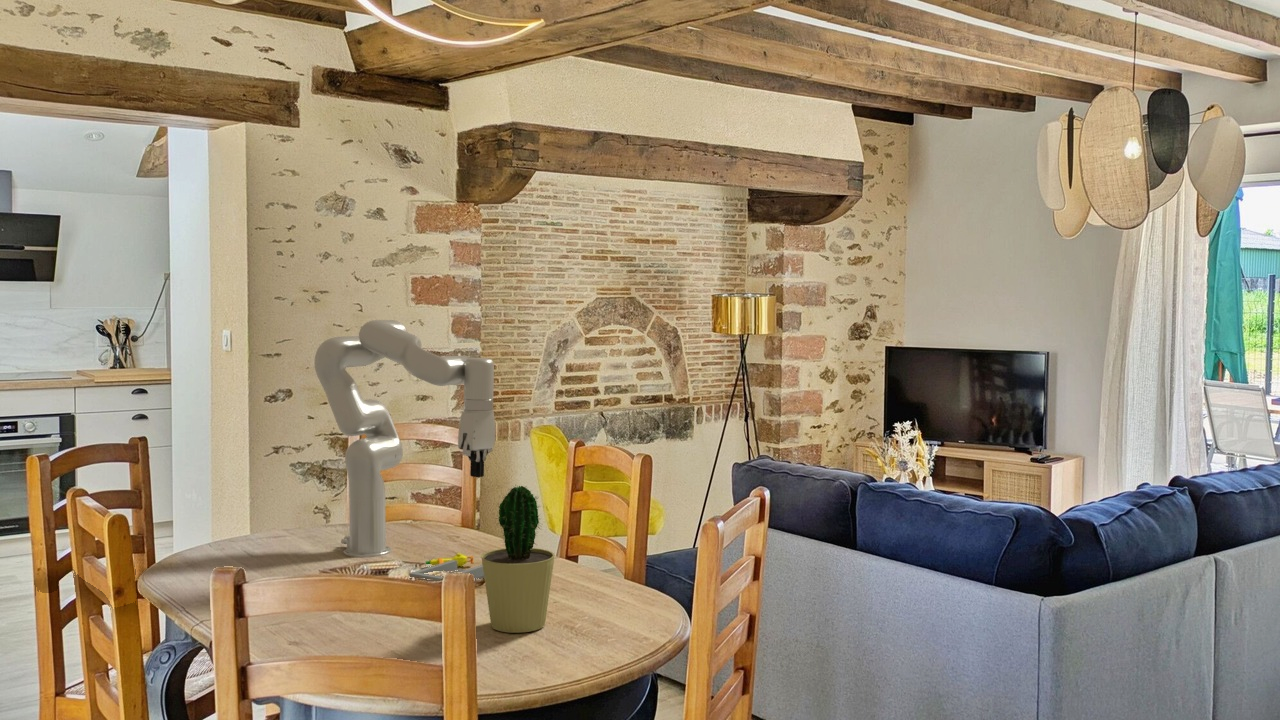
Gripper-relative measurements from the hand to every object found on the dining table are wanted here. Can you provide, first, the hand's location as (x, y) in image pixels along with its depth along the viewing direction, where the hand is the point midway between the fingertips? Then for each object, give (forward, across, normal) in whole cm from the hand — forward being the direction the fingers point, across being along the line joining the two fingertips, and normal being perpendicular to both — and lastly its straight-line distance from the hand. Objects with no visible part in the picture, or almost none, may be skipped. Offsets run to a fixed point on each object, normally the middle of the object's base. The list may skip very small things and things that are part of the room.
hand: (477, 476), depth 273 cm
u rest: (+23, +16, +5) cm, 29 cm away
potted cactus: (+23, +36, +41) cm, 59 cm away
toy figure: (+21, +2, +1) cm, 21 cm away
